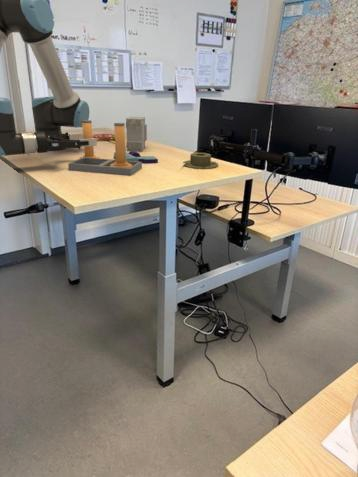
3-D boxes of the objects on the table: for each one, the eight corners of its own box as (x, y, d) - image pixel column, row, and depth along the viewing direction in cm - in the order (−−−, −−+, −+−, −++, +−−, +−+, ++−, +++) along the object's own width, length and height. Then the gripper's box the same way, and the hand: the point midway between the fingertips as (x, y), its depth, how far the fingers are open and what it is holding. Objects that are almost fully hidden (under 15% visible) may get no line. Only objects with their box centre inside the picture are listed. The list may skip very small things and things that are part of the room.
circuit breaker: (147, 146, 183) (147, 116, 177) (142, 152, 170) (141, 119, 164) (133, 146, 184) (132, 115, 177) (126, 151, 171) (125, 118, 164)
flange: (213, 151, 155) (179, 151, 152) (223, 158, 141) (186, 158, 139) (212, 161, 157) (179, 162, 154) (222, 170, 143) (186, 170, 141)
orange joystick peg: (76, 164, 144) (72, 121, 137) (85, 160, 151) (82, 119, 144) (94, 165, 142) (91, 122, 135) (103, 161, 149) (100, 120, 142)
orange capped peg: (106, 171, 129) (104, 124, 122) (115, 166, 136) (113, 121, 129) (127, 173, 127) (126, 125, 120) (135, 168, 134) (134, 122, 127)
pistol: (161, 167, 146) (126, 169, 139) (145, 159, 158) (113, 161, 151) (161, 156, 144) (126, 159, 137) (145, 149, 156) (112, 151, 149)
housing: (69, 173, 130) (68, 163, 129) (84, 166, 141) (83, 157, 139) (131, 178, 126) (130, 169, 124) (141, 171, 136) (141, 161, 135)
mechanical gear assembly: (109, 136, 212) (84, 138, 205) (108, 129, 210) (84, 131, 203) (130, 144, 189) (104, 147, 182) (130, 136, 187) (103, 139, 180)
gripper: (29, 147, 143) (81, 143, 154) (43, 159, 124) (102, 154, 134) (26, 128, 140) (79, 125, 151) (41, 137, 121) (100, 134, 131)
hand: (90, 139), depth 143 cm, fingers open, 13 cm apart
